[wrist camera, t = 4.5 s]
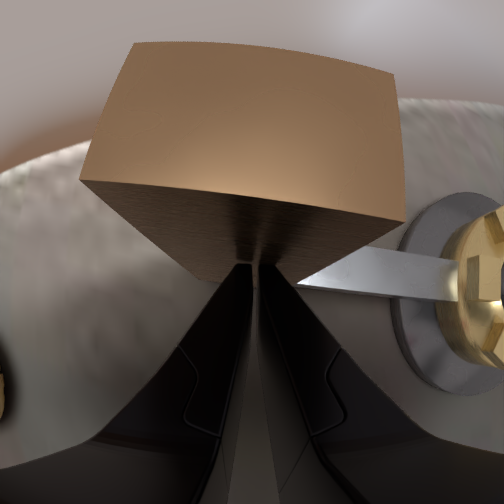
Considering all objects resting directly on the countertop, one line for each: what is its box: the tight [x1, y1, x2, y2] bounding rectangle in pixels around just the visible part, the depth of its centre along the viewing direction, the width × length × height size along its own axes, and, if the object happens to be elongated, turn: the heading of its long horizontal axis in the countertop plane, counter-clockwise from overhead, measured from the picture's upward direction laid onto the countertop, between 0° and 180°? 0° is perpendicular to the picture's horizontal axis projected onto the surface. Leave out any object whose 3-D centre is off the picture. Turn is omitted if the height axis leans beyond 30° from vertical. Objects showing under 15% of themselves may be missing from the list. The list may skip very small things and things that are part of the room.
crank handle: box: [79, 42, 504, 370], centre depth 10 cm, size 22×9×12 cm, turn 82°
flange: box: [390, 192, 504, 396], centre depth 17 cm, size 13×13×2 cm
